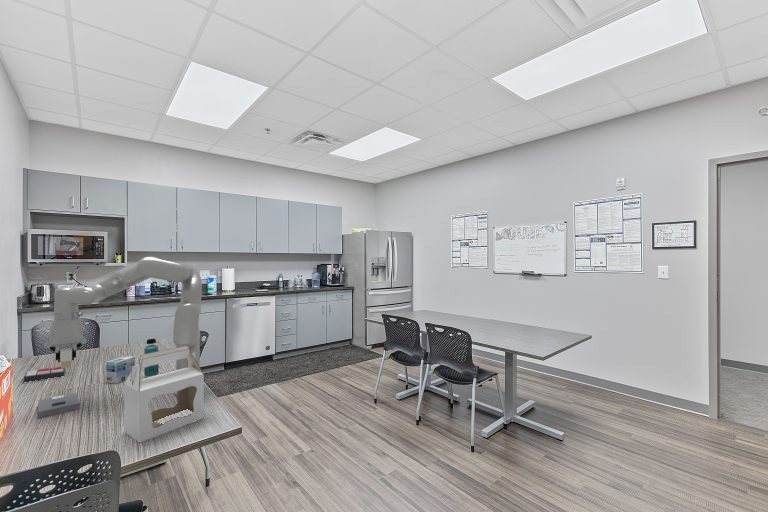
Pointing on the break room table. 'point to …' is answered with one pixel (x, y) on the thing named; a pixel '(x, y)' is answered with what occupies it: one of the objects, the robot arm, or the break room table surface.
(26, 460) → the break room table surface
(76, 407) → the socket plate
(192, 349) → the robot arm
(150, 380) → the gable box
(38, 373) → the sushi tray
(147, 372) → the beverage bottle
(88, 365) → the break room table surface
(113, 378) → the light bulb box
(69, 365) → the plug
